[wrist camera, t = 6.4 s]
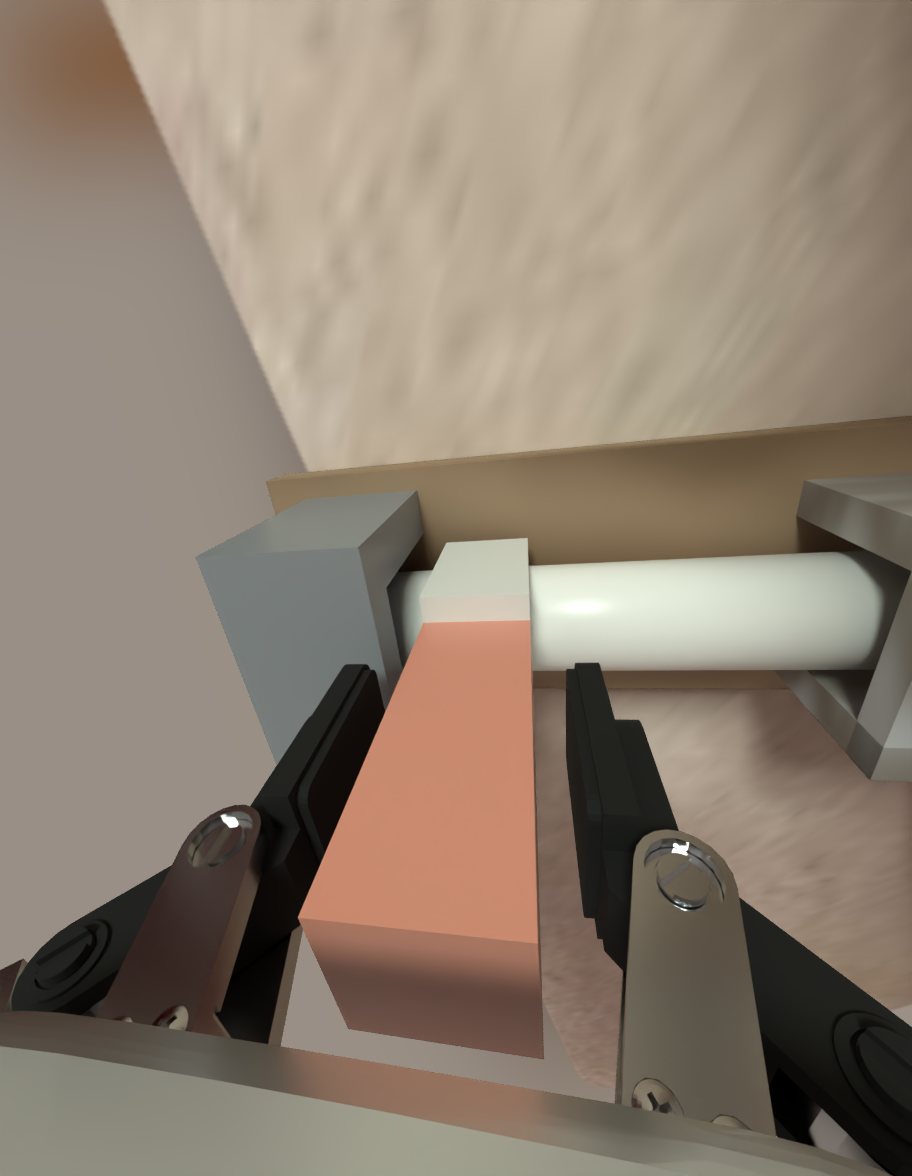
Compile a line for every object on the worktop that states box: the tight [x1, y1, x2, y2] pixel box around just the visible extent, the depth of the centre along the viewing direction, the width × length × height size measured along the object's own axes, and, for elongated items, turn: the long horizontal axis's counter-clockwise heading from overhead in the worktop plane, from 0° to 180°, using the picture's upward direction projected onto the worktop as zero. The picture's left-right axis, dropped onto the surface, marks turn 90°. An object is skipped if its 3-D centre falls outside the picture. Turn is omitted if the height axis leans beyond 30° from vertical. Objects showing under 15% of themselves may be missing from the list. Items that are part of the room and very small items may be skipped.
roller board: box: [266, 416, 912, 782], centre depth 14 cm, size 10×27×7 cm, turn 96°
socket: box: [196, 490, 423, 765], centre depth 15 cm, size 8×4×6 cm, turn 6°
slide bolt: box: [298, 538, 911, 1059], centre depth 10 cm, size 5×16×12 cm, turn 96°
